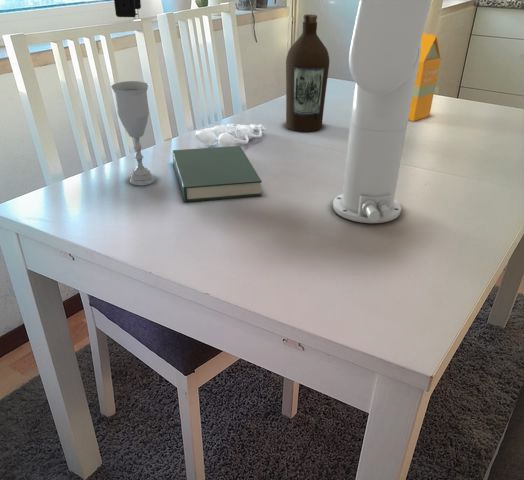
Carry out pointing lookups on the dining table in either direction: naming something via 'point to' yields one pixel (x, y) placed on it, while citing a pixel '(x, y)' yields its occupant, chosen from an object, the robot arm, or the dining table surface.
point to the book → (215, 174)
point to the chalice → (134, 121)
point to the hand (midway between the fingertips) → (129, 12)
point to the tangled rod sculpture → (228, 134)
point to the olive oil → (306, 79)
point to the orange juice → (425, 78)
